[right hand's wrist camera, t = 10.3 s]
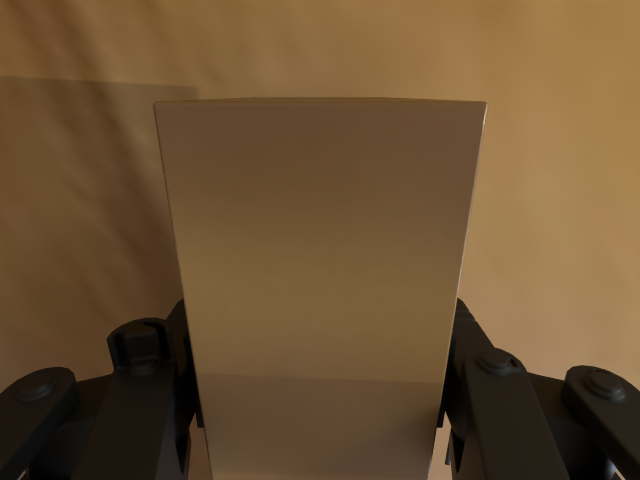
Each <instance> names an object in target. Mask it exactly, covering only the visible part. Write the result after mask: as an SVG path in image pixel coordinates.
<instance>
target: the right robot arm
mask: <svg viewBox="0 0 640 480" xmlns="http://www.w3.org/2000/svg"><path fill="white" fill-rule="evenodd" d="M107 343H108V347H109V350H110V354H111V358H112V362H113V366H114V371H113V374H109V375H106V376H102V377H97V378H93V379H88V380H84V381H79V382H76V379H75V376H74V373H73V372H72V371H71V370H70V369H68V368H63V367H52V368H45V369H42V370H39V371H35V372H32V373H30V374H28V375H26V376H24V377H22V378H20V379H18V380H17V381H16V382H14V383H13V384H11V385H10V386H9V387H7V388H6V389H5V390H4V391H3V392H2V393H1V394H0V480H17V479H18V477H19V476H20V475H21V474H22V472H23V471H24V470H25V472H26V473H25V474H24V476H23V477H22V478H21V480H188V471H189V460H190V450H191V437H190V431H189V426H190V424H191V421H192V419H193V416H194V414H195V413H196V419H197V425H198V428H204V425H203V418H202V412H201V406H200V399H199V393H198V387H197V380H196V374H195V368H194V361H193V355H192V349H191V342H190V336H189V330H188V323H187V317H186V311H185V304H184V298H183V299H182V300H180V301H179V302H178V303H177V304H176V306H175V307H174V309H173V310H172V312H171V314H169V316H168V317H167V319H166V320H164V319H160V318H142V319H138V320H133V321H131V322H128V323H126V324H123V325H121V326H120V327H118V328H117V329H115V330H114V331H112V333H111V334H110V335H109V336H108V337H107ZM445 411H446V414H447V416H448V419H449V421H450V424H451V431H450V437H449V442H448V448H447V454H446V460H445V464H446V465H450V460H451V470H452V480H621V478H620V477H619V476H618V475H617V473H616V472H615V470H616V468H617V469H618V471H619V472H620V473H621V474H622V476H623V477H624V478H625V479H626V480H640V391H639V390H638V389H637V388H635V387H634V386H633V385H632V384H630V383H629V382H628V381H626V380H625V379H624V378H622V377H620V376H618V375H616V374H614V373H612V372H610V371H607V370H605V369H601V368H597V367H593V366H584V365H581V366H575V367H572V368H571V369H569V370H568V371H567V373H566V377H565V380H559V379H555V378H550V377H545V376H541V375H536V374H533V373H529V372H527V371H526V368H525V367H524V366H523V364H522V363H521V361H520V360H518V359H517V358H516V357H514V356H513V355H512V354H510V353H508V352H506V351H504V350H501V349H498V348H495V347H494V346H493V345H492V343H491V342H490V340H489V339H488V337H487V336H486V334H485V333H484V331H483V330H482V329H481V327H480V326H479V324H478V323H477V321H475V318H474V317H473V316H472V314H471V313H469V310H468V308H467V307H466V305H465V304H464V302H463V301H462V300H460V299H459V298H457V303H456V309H455V316H454V322H453V328H452V334H451V341H450V347H449V353H448V360H447V366H446V372H445V379H444V385H443V391H442V398H441V404H440V410H439V416H438V423H437V428H442V427H443V421H444V415H445Z"/></svg>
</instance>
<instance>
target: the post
mask: <svg viewBox="0 0 640 480" xmlns="http://www.w3.org/2000/svg"><path fill="white" fill-rule="evenodd" d="M153 108H154V115H155V121H156V127H157V134H158V140H159V146H160V153H161V159H162V165H163V172H164V178H165V184H166V191H167V197H168V203H169V210H170V216H171V222H172V229H173V235H174V241H175V248H176V254H177V260H178V266H179V273H180V279H181V285H182V292H183V298H184V304H185V311H186V317H187V323H188V330H189V336H190V342H191V349H192V355H193V361H194V368H195V374H196V380H197V387H198V393H199V399H200V406H201V412H202V418H203V425H204V431H205V437H206V444H207V450H208V456H209V463H210V469H211V475H212V480H428V479H429V473H430V467H431V461H432V454H433V448H434V442H435V435H436V429H437V423H438V416H439V410H440V404H441V398H442V391H443V385H444V379H445V372H446V366H447V360H448V353H449V347H450V341H451V334H452V328H453V322H454V316H455V309H456V303H457V297H458V290H459V284H460V278H461V271H462V265H463V259H464V253H465V246H466V240H467V234H468V227H469V221H470V215H471V208H472V202H473V196H474V190H475V183H476V177H477V171H478V164H479V158H480V152H481V145H482V139H483V133H484V127H485V120H486V114H487V108H488V104H487V103H486V102H483V101H458V100H434V99H409V98H385V97H255V98H231V99H207V100H183V101H159V102H155V103H153Z"/></svg>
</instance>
